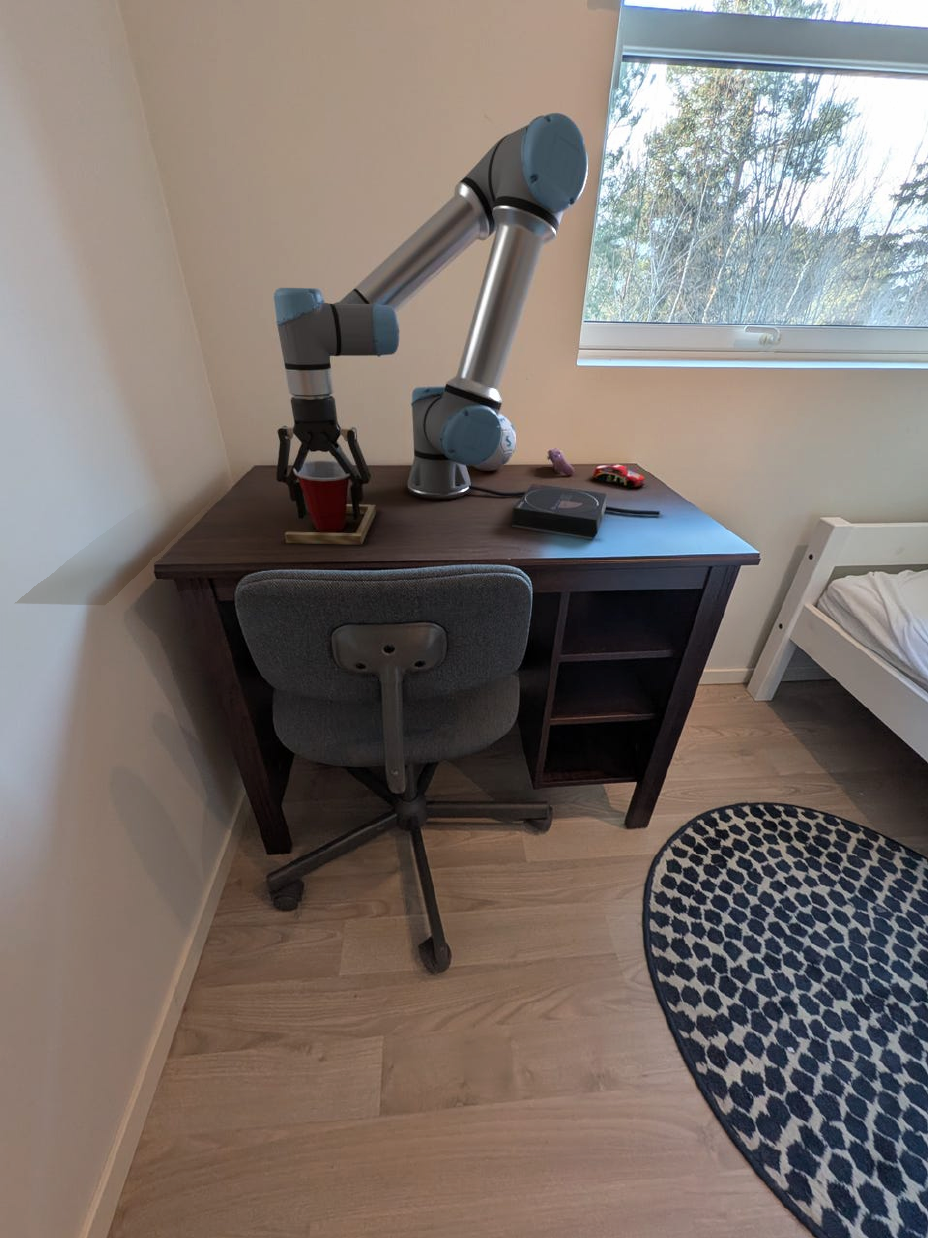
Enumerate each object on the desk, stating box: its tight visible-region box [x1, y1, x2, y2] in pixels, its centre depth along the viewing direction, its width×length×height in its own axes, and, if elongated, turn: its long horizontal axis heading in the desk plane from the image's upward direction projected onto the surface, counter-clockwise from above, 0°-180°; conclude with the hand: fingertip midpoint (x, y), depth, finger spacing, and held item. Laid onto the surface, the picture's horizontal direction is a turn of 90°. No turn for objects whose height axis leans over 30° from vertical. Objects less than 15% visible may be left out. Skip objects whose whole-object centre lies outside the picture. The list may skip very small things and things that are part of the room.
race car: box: [593, 463, 646, 489], centre depth 122 cm, size 13×5×4 cm, turn 50°
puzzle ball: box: [472, 412, 517, 472], centre depth 127 cm, size 15×15×15 cm
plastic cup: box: [293, 460, 350, 533], centre depth 93 cm, size 11×11×12 cm
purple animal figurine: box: [546, 447, 575, 476], centre depth 130 cm, size 10×5×7 cm, turn 5°
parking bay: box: [284, 503, 377, 546], centre depth 96 cm, size 14×16×2 cm
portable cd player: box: [511, 483, 608, 540], centre depth 101 cm, size 16×17×4 cm
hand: (330, 516), depth 95 cm, fingers open, 10 cm apart
